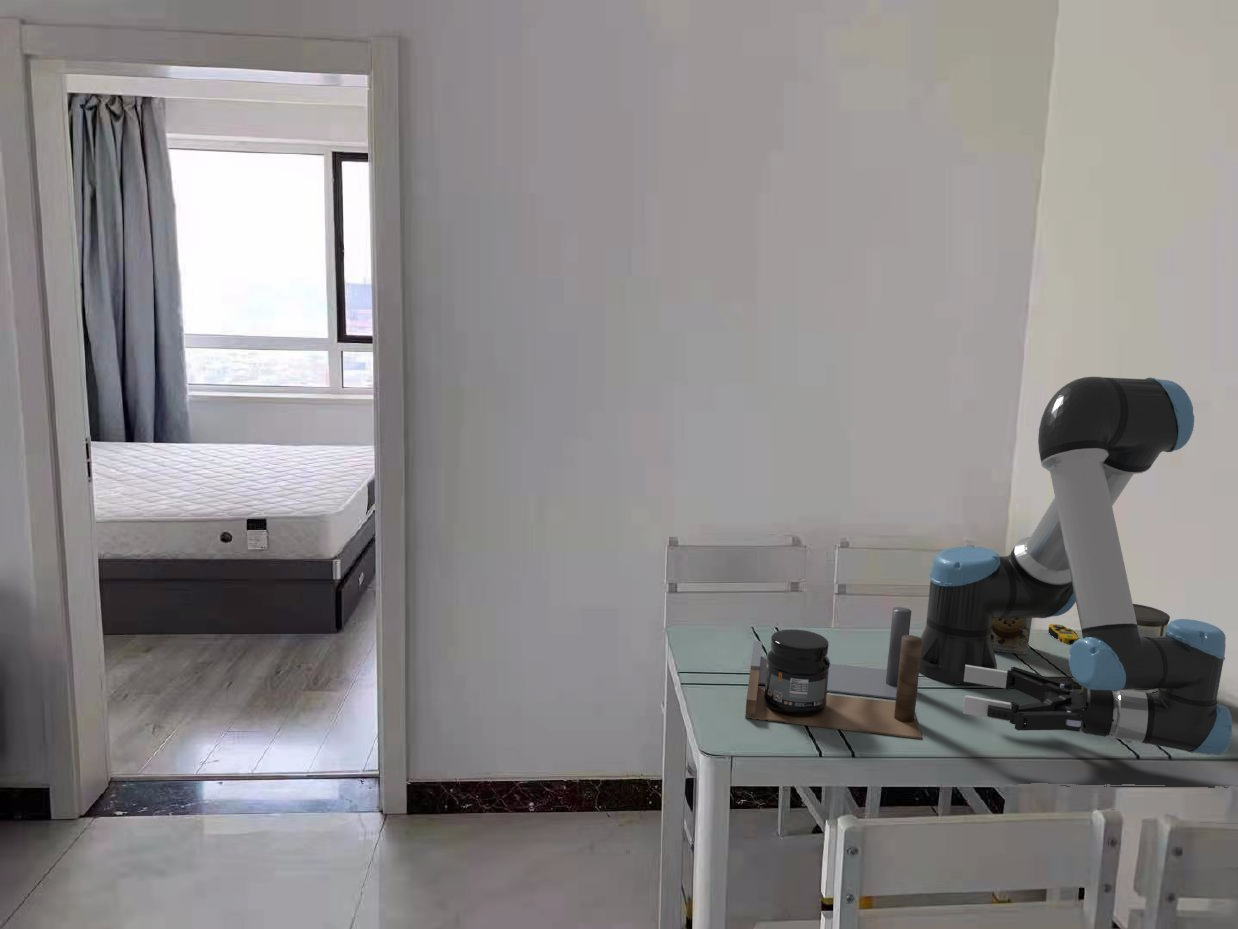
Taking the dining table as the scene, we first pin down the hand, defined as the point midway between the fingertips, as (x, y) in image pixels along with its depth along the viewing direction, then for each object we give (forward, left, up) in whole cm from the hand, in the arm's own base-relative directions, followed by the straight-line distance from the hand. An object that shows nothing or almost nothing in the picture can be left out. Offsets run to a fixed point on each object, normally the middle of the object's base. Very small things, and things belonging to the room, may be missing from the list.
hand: (964, 688), depth 151 cm
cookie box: (-16, -45, -8) cm, 48 cm away
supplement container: (+26, -3, -8) cm, 28 cm away
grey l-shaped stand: (+20, -18, -8) cm, 28 cm away
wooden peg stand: (+20, -3, -8) cm, 22 cm away
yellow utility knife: (-31, -53, -8) cm, 62 cm away
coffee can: (-36, -32, -8) cm, 49 cm away
